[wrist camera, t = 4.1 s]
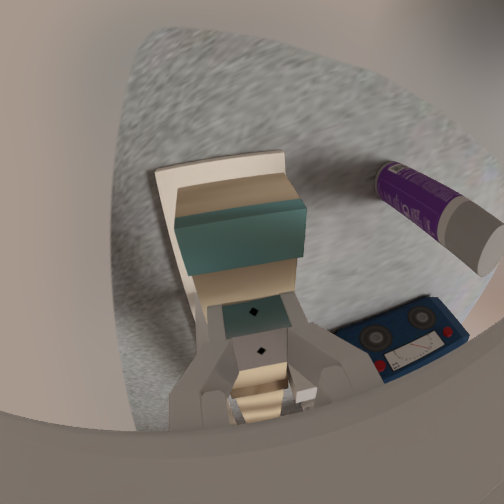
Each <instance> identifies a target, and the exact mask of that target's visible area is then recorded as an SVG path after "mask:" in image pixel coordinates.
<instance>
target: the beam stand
mask: <svg viewBox="0 0 504 504" xmlns="http://www.w3.org/2000/svg"><path fill="white" fill-rule="evenodd" d="M282 172H284V174H285V156H284V152H283V151H281V150H276V151H266V152H256V153H248V154H240V155H233V156H226V157H219V158H212V159H206V160H200V161H194V162H189V163H183V164H178V165H173V166H168V167H163V168H158V169H156V171H155V176H156V181H157V186H158V190H159V195H160V199H161V203H162V208H163V212H164V216H165V220H166V224H167V228H168V232H169V236H170V239H171V243H172V247H173V251H174V254H175V258H176V261H177V265H178V268H179V272H180V275H181V279H182V282H183V285H184V289H185V292H186V295H187V298H188V301H189V305H190V308H191V311H192V314H193V317H194V320H195V323H196V355H197V353H198V352H199V350H200V349H201V347H202V346H203V344H204V343H207V342H209V337H208V324H207V321H206V318H205V315H204V312H203V309H202V306H201V303H200V300H199V297H198V294H197V291H196V288H195V285H194V282H193V279H192V276H188V274H187V271H186V268H185V265H184V262H183V259H182V255H181V252H180V249H179V246H178V242H177V239H176V235H175V232H174V220H175V209H176V199H177V190H178V188H181V187H186V186H192V185H197V184H203V183H209V182H215V181H222V180H228V179H235V178H242V177H250V176H257V175H265V174H274V173H282ZM285 175H286V174H285ZM286 372H287V377H288V380H289V383H290V386H291V390H292V393H293V396H294V399H295V403H299V402H303V401H307V400H311V399H314V398H315V397H316V393H317V387H316V386H314V385H313V384H312V383H311V382H310V381H308V380H307V379H306V378H305V377H304V376H302V375H301V374H300V373H299V372H298V371H296V370H295V369H294V368H293V367H292V366H290V365H289V364H288V363H287V368H286ZM227 401H228V403H229V397H228V399H227ZM229 406H230V403H229Z"/></svg>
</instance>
